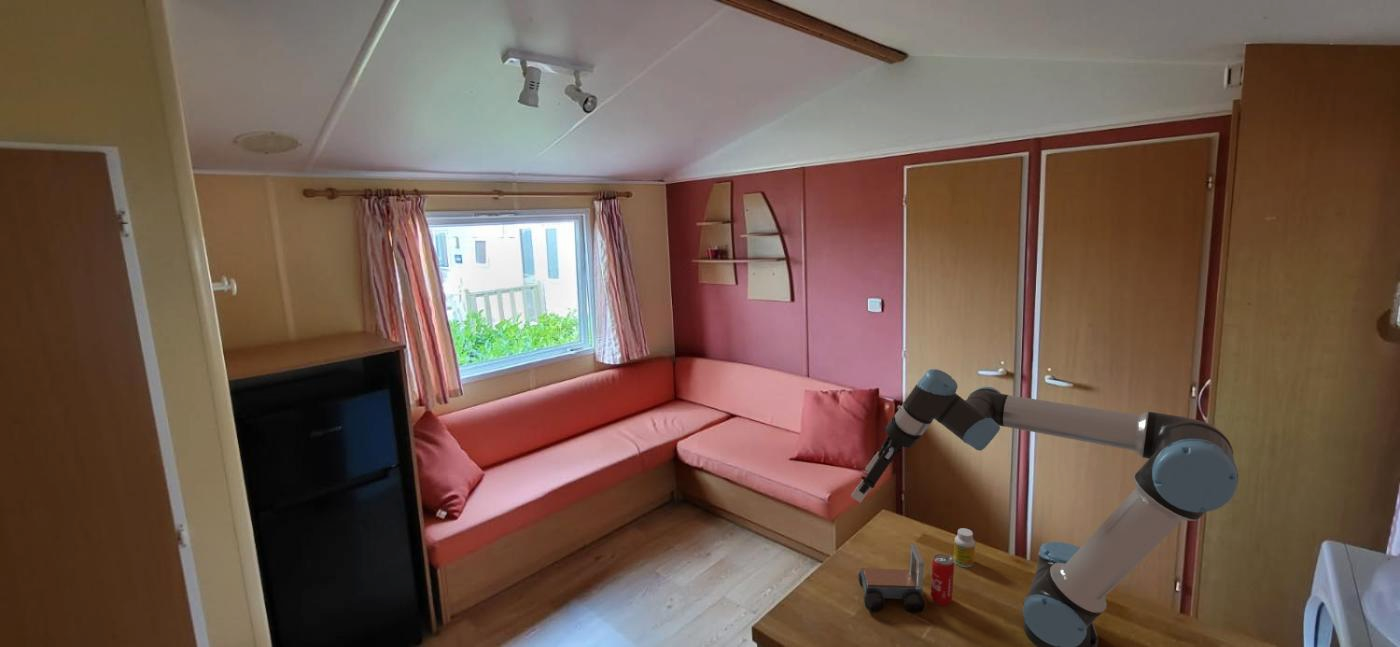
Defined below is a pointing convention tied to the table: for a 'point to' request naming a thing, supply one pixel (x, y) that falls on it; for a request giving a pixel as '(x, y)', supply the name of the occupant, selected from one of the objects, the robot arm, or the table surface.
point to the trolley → (894, 585)
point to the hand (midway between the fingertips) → (863, 484)
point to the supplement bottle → (964, 548)
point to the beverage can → (942, 579)
